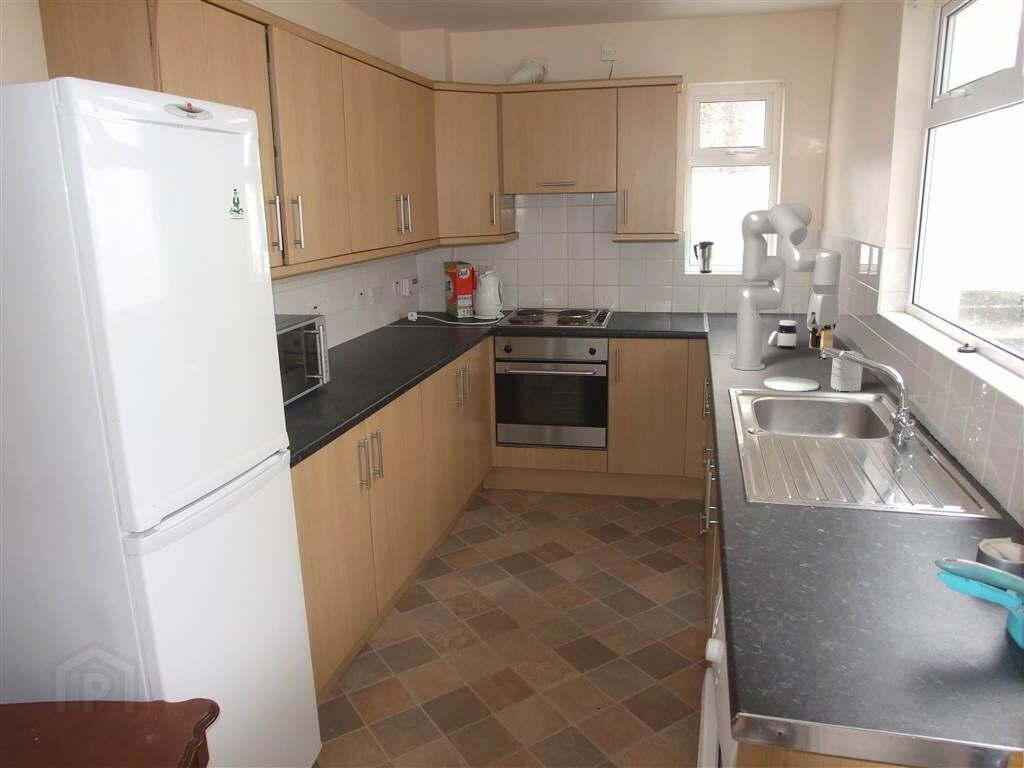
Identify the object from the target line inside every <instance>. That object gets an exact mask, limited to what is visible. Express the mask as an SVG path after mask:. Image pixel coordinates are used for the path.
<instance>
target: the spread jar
mask: <svg viewBox="0 0 1024 768" xmlns="http://www.w3.org/2000/svg"><path fill="white" fill-rule="evenodd" d="M797 329H798V328H797V321H796V320H791V319H790V320H789V319H781V320H779V325H778V327H777V330H774V331H773V332H772V333H771V334H770V337H769V339H768V341H767V345H768V346H770V347H773V345H774V344H775V343H776V347H777V348H778V349H781V350H793V349H794V350H795V349H796V346H797V336H798V335H797V334H798V332H797V331H798V330H797Z"/></svg>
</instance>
